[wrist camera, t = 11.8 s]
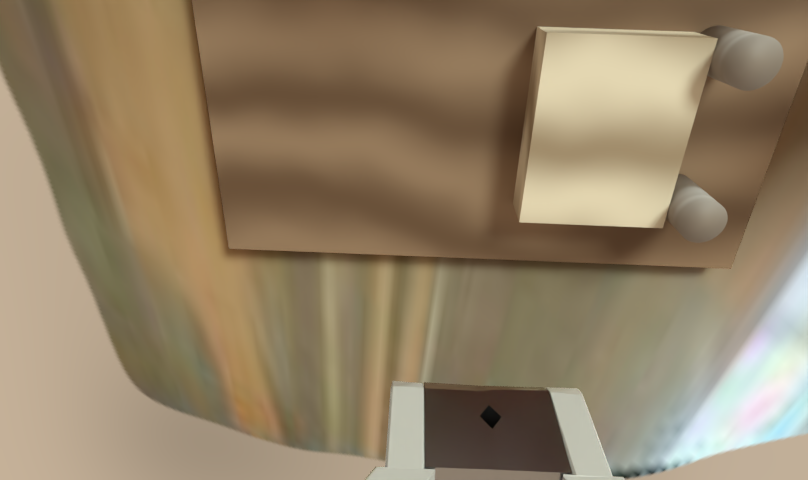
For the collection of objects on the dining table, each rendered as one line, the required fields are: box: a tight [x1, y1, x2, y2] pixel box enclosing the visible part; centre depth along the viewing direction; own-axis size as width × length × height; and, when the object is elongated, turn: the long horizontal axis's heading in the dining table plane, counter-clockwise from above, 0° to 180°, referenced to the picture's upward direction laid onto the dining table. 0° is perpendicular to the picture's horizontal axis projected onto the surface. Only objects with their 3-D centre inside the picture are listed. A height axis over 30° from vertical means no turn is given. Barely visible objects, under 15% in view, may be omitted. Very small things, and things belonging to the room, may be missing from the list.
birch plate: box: [513, 27, 718, 228], centre depth 28 cm, size 10×8×2 cm
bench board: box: [192, 0, 808, 269], centre depth 28 cm, size 18×32×6 cm, turn 89°
